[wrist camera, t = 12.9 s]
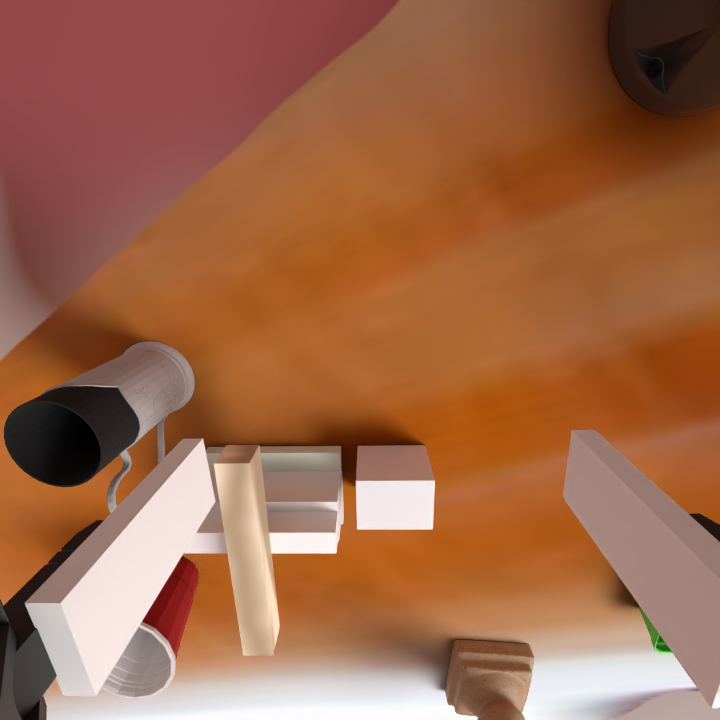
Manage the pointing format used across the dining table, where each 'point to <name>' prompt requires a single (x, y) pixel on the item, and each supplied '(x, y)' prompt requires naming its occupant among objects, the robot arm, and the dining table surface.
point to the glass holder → (99, 416)
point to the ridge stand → (288, 501)
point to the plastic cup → (156, 639)
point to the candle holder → (489, 679)
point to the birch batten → (248, 546)
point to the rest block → (394, 487)
